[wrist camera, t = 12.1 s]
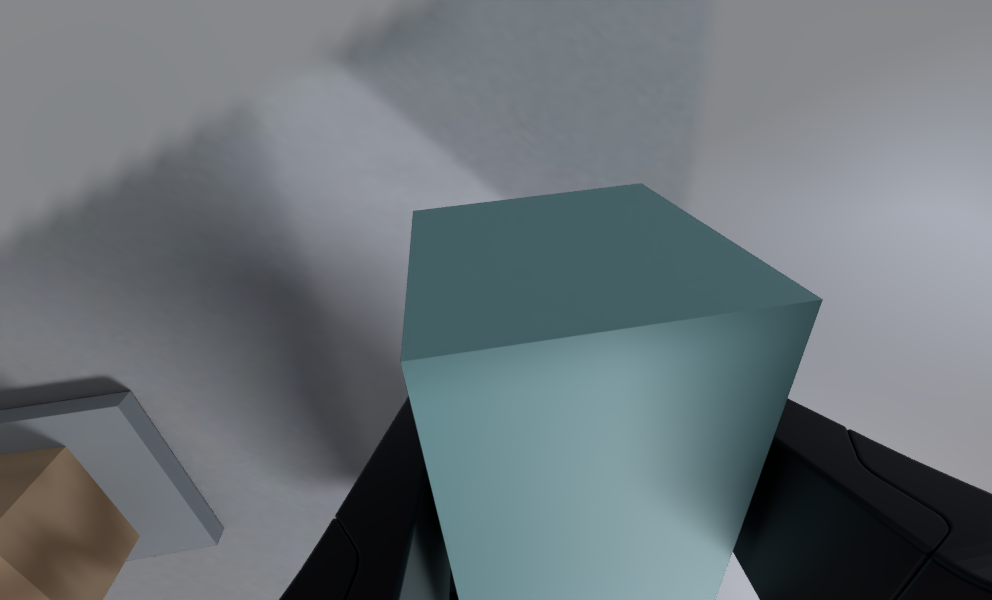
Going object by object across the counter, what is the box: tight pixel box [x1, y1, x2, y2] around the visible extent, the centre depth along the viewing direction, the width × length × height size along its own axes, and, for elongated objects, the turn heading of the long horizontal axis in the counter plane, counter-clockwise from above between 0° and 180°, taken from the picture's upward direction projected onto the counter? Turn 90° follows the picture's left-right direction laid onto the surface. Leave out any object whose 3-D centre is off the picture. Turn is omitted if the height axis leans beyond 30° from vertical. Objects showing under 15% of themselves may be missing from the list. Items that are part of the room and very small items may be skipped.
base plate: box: [0, 391, 224, 561], centre depth 22 cm, size 11×11×1 cm
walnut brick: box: [0, 446, 140, 600], centre depth 20 cm, size 7×4×4 cm, turn 4°
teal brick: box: [401, 183, 822, 600], centre depth 8 cm, size 7×4×4 cm, turn 5°
